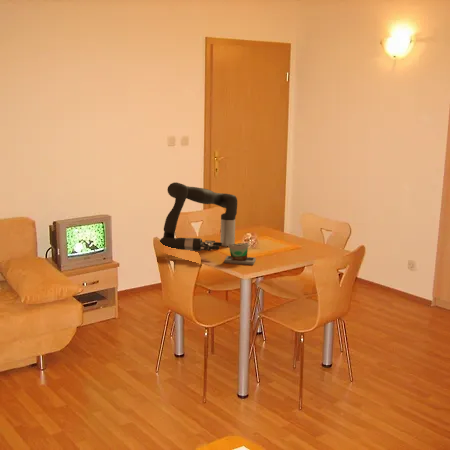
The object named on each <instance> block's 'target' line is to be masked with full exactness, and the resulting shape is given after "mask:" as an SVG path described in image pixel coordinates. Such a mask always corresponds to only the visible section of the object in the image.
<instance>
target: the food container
mask: <svg viewBox="0 0 450 450" xmlns="http://www.w3.org/2000/svg"><path fill="white" fill-rule="evenodd" d="M249 246H250V244H249V242H246V243H239V242H238V243H235V244H233V245H230V244H229V245H228V247H227V248H228V249H229V254H230V256H231V259H232V260H237V261H245V260H246V259H247V257H248V251H249V250H248V249H249Z"/></svg>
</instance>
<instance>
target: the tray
mask: <svg viewBox="0 0 450 450" xmlns="http://www.w3.org/2000/svg"><path fill="white" fill-rule="evenodd" d="M256 259H257V258H256V257H251V256H250V257H249V256H247V259H246V260H245V261H237V260H232V259H231V255H226V257H225V258H224V261H223V262H224V264H231V265H245V266H246V265H247V266H254V265H255V263H256Z"/></svg>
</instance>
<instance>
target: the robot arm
mask: <svg viewBox="0 0 450 450" xmlns="http://www.w3.org/2000/svg"><path fill="white" fill-rule="evenodd" d="M167 194H168V195H169V196H170V197H172V198H173V199H175V200H174V203H173V206H172V209H170V211H169V213H168V214H167V215H166V218H165V221H164V225H163V237H161V238H160V240H159V241H160V242H161V243H162V244H163V245H165V246H168V247H171V248H176V249H175V250H183V251H189V250H190V251H191V252H193V251H194V252H201V251H210V252H211V251H213V250H214V251H219V250H220V247H227V246H228V245H229V244H230V245H233V244H236V243H235V242H236V216H237V213H238V197H237V196H236V195H235V194H230V193H223V192H222V193H220V192H219V193H218V192H214V191H212V190H211V189H208V188H203V187H196V186H188V185H186V184H184V183H183V184H182V183H179V182H172V183H169V185H168V186H167ZM186 200H189V201H192V202H195V203H198V204H203V205H215V206H219V207H221V208H225V212H224V213H222V214H221V215H220V238H219V239H220V241H219V242H218V241H216V240H204V241H203V239H202V238H199V237H175V235H176V234H175V233H176V229H177V224H178V221H179V218H180V214H181V212H182V211H183V210H182V209H183V207H184V204H185V203H186Z"/></svg>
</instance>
